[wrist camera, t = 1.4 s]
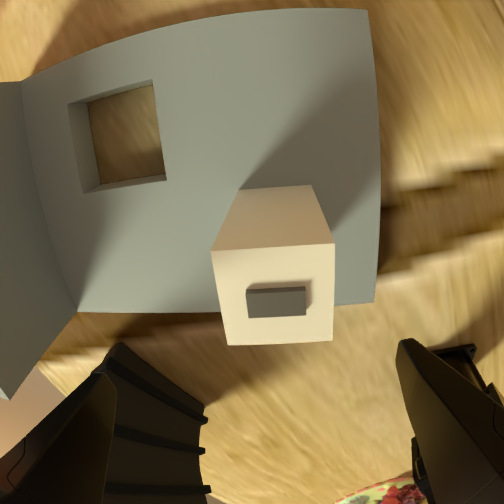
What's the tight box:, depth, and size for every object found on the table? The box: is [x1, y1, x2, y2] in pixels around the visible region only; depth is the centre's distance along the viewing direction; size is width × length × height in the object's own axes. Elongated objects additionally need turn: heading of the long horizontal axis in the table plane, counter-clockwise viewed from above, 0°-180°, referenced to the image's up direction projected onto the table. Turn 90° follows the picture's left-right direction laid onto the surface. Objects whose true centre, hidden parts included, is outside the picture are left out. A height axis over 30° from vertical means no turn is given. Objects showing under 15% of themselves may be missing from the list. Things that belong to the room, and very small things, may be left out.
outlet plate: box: [0, 8, 381, 401], centre depth 14 cm, size 24×18×12 cm
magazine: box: [90, 343, 212, 504], centre depth 24 cm, size 4×13×15 cm, turn 42°
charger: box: [210, 185, 335, 345], centre depth 15 cm, size 4×4×8 cm
